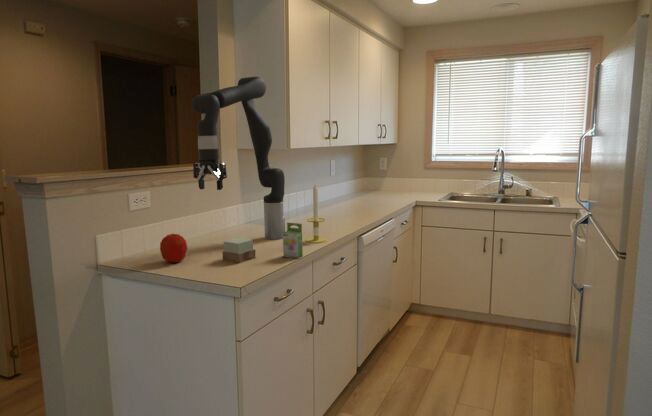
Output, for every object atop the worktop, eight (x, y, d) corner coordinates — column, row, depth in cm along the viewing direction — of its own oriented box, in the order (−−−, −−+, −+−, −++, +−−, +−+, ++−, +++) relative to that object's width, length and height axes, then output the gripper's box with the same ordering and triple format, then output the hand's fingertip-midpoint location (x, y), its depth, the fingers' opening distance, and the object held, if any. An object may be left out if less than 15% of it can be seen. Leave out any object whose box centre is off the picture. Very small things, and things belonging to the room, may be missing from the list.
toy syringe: (312, 237, 220) (311, 181, 216) (331, 239, 215) (330, 182, 211) (301, 241, 212) (300, 183, 208) (319, 243, 207) (318, 184, 203)
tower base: (239, 256, 188) (238, 246, 188) (255, 259, 183) (255, 249, 183) (222, 261, 181) (222, 251, 180) (239, 264, 176) (239, 254, 176)
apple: (156, 261, 180) (154, 232, 178) (180, 257, 187) (178, 229, 185) (168, 266, 173) (166, 236, 171) (192, 261, 180) (191, 232, 178)
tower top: (238, 247, 187) (238, 237, 187) (253, 249, 183) (252, 239, 182) (223, 251, 181) (223, 241, 180) (238, 253, 176) (238, 243, 176)
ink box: (282, 257, 185) (282, 224, 183) (288, 254, 188) (287, 222, 186) (298, 258, 182) (297, 225, 180) (302, 256, 185) (302, 223, 183)
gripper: (229, 147, 178) (231, 189, 181) (200, 147, 184) (202, 187, 187) (217, 148, 172) (219, 191, 174) (187, 148, 177) (189, 190, 180)
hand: (210, 189), depth 180 cm, fingers open, 8 cm apart
